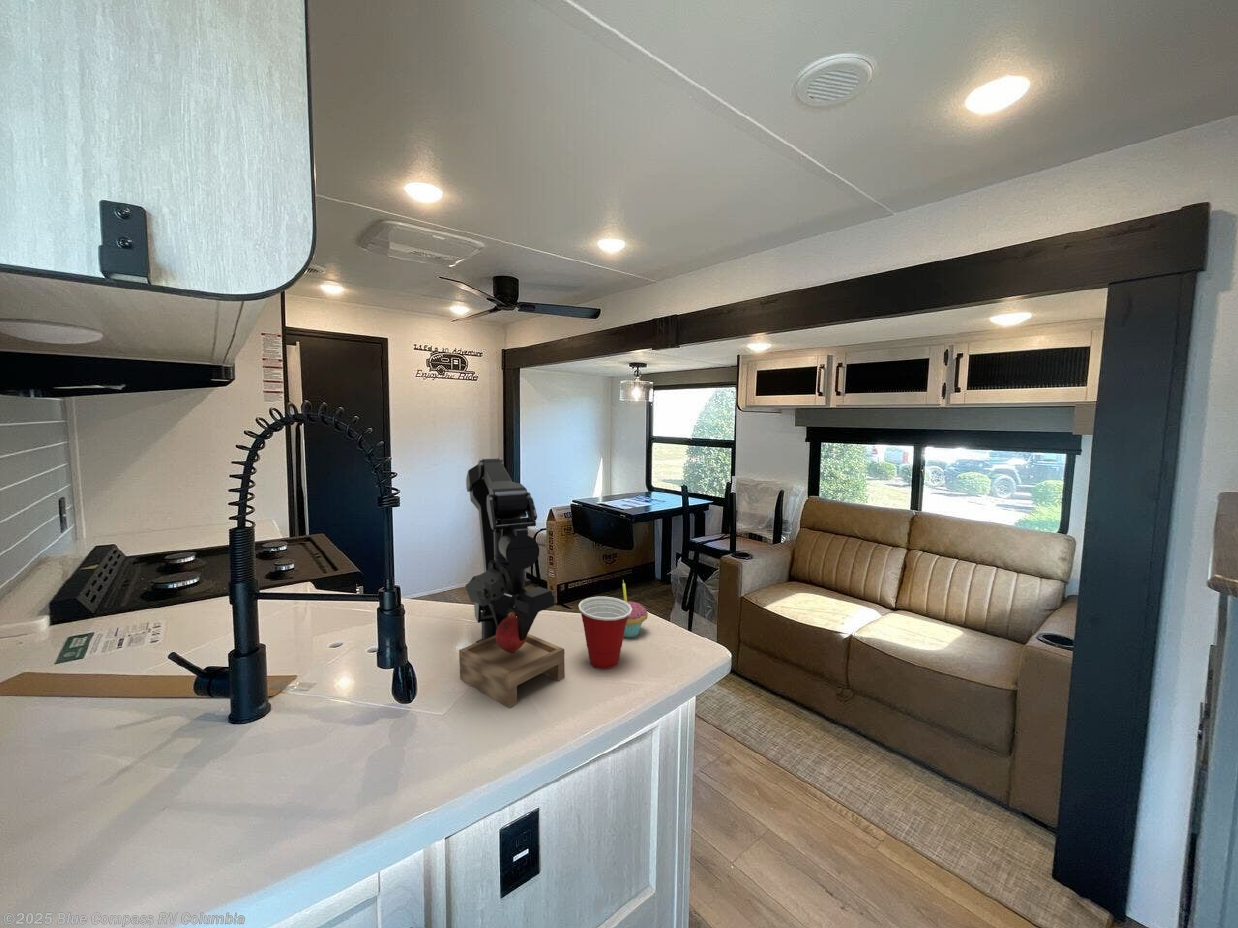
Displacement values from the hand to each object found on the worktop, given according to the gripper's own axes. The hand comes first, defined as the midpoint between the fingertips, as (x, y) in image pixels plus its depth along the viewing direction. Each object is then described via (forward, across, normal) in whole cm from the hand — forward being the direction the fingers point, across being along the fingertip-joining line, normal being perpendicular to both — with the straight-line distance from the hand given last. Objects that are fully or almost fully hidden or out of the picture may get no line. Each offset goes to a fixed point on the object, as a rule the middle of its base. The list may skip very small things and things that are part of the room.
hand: (511, 635), depth 93 cm
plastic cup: (+9, +10, +16) cm, 21 cm away
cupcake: (+9, +5, +30) cm, 32 cm away
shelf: (+8, 0, 0) cm, 9 cm away
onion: (+4, 0, 0) cm, 4 cm away
